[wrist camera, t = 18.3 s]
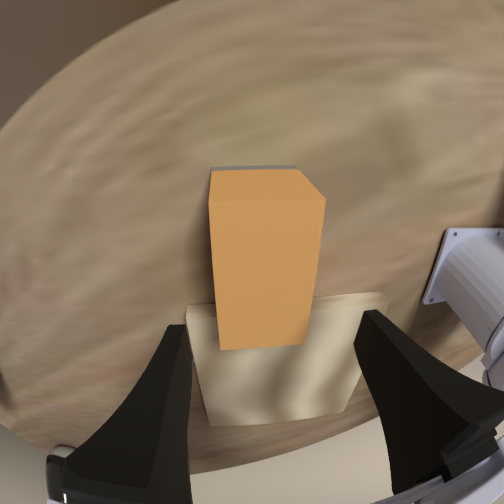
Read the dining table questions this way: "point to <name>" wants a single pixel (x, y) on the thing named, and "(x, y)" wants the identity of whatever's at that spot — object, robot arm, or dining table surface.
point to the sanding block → (264, 253)
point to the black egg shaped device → (57, 474)
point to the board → (281, 365)
